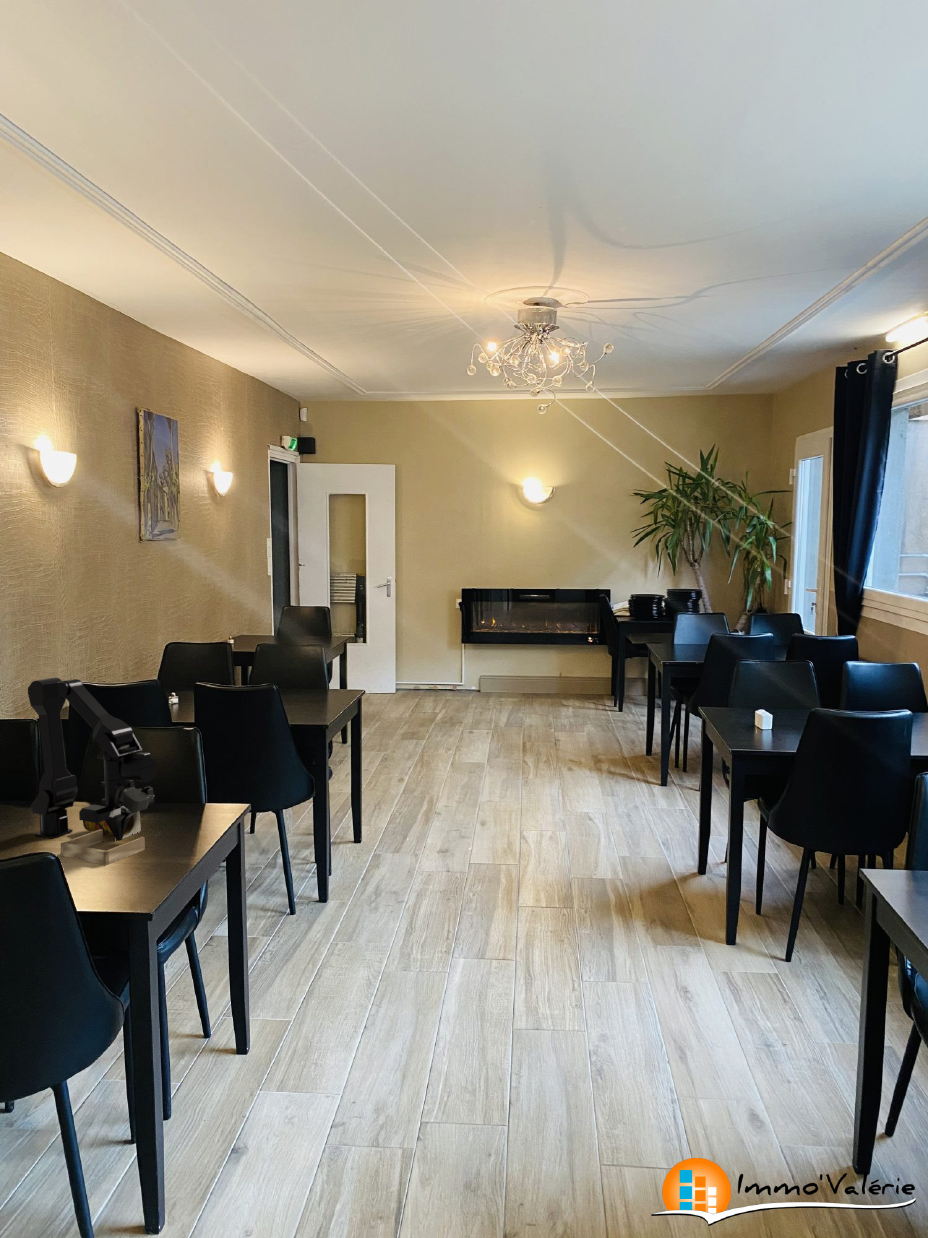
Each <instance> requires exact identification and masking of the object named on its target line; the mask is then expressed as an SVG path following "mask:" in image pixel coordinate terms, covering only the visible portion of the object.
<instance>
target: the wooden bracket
mask: <svg viewBox="0 0 928 1238" xmlns="http://www.w3.org/2000/svg"><path fill="white" fill-rule="evenodd" d="M102 841H103V842H104V834H103V830H102V829H100V830H97V831H94V832H93V831H90V832H88V833H85V834H84V835H80V836H78V837H77V836H76V837H74V838H71V839H69V840H66V841H64V842H61V843H60V856H61V857H66V858H70V859H75V860H79V861H85V862H88V863H89V862H90V863H94V864H100V865H104V866H108V865H111V864H113V863H115V862H118V861H120V860H122V859H125V858H127V857H130V856H132V855H135V854H137V853H140V852H143V851H144V850H146V841H145V836H141V837H138V838H136V839H133V840H130V841H128V842H125V843H123V844H120V845H118V846H115V847H112V848H110V849H108V850H104V849H99V848H93V846H95V845H98V844H100V843H103V842H102Z"/></svg>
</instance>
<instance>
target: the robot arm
mask: <svg viewBox="0 0 928 1238" xmlns="http://www.w3.org/2000/svg"><path fill="white" fill-rule="evenodd" d="M27 695H28V699H29V703H30V707H31V708H32V710H34V712H35V713H36V714H37V715H38V721H39V722H38V723H39V730H40V732H39V733H40V740H41V749H42V750H41V751H42V759H43V767H44V768H43V770H44V773H43V775H42V777H41V779H40V782H39V784H38V786H39V787H38V795H37V796H36V798H35V799H34V800H33V802H32V803H31V804H30V808H31V811H32V814H36V815H39V831H37V832H35V833H34V836H37V837H42V838H46V839H47V838H48V839H55V838H58V837H60V836H64V835H67V834H70V833H73V830H74V829H73V828H69V818H68V817H69V816H68V810H67V809H70V808H73V807H74V804H75V800H76V798H77V795H78V793H77V792H78V790H79V788H78V784H77V779H78V778H77V776H76V775H75V774H71V772H69V770H68V769H67V763H66V755H65V745H64V737H63V726H62V725H63V723H62V718H61V713H62V710H63V708H64V705H65V704H66V701H67V702H68V703H69V704H70V705H71V706H72V708H74V709H75V711H76V712H77V713H78V714H79V715H80V717H82V718H83V719H84V721H86V723H87V724H88V725H89V726H90V727H91V729H92V731H93V739H94V741H96V742H97V744H98V746H99V747H100V749H101V752H100V753H98V755H97V759H101V760H103V768H104V769H103V771H104V781H101V782H100V787H102V788H104V797H105V798H102V799H101V804H105V805H99V804H91V805H88V806H85V807H82V808H81V809H80V810H79V812H78V815H79V816H78V817H79V818H78V819H79V821H82V822H83V821H88V822H93V823H99V822H102V821H105V822H106V823H107V825H108V826H109V828H110V830H111V832H112V833H113V835H112V836H113V837H114V840H115V839H116V840H117V841H116V842H120V841H122V840H123V839H124V838H123V836H124V832H125V829H126V826H127V823H128V821H129V819H130V817H131V816H132V815H133V814H134V813H137V812H138V811H139V812H140V811H143V810H147V809H148V806H151V805H153V804H155V802H156V799H155V798H156V797H155V794H154V793H155V792H154V787H152V786H150V785H149V786H145V787H143V788H136V785H135V782H143V783H149V782H151V781H153V780H154V779H155V777H156V776H157V773H158V765H157V763H156V761H155V759H154V758H152V757H151V753H150V752H143V751H144V750H143V748H142V747H141V743H140V742H139V741H138V739H137V738H136V735H135V734H134V731H133V729H132V727H131V726H130V725H128V724H127V723H126V722H125V721H123V720H122V719H119V718H117V717H115V716H113V715H111V714H109V713H108V712H107V710H106V709H105V708H104V707H103V706H102V705H101V704H100V702H99V701H98V700H96V698H95V697H94V696H93V695H92V694H91V693H90V692H89V690H87V689H86V687H85V686H84V682H83V681H82V680H80V679H77V678H74V679H69V680H62V679H61V678H59V677H57V676H56V677H50V678H44V679H38V680H33V681H32V682H31V683H29V685H28V688H27Z"/></svg>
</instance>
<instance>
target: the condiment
mask: <svg viewBox="0 0 928 1238" xmlns="http://www.w3.org/2000/svg"><path fill="white" fill-rule="evenodd" d="M140 814H141V812H140V811H138V812H137V813H134V814H133V815H132V816H131V817H130V819H129V821H128V823H127V826H126V829H125V832H124V836H123V839H126V838H128V837H131V836H133V835H136V834H138V833H141V832H142V830H141V829H142V828H141V827H142V826H141V815H140ZM82 823H83V824H82V825H83V827H84V830H86V831H88V832H94V831H97V830H100V829H102V830H103V835H111V836H114V835H113V833H112V832H111V830H110V828H109V826H108V825H107V823H106V822H105V821H102V822H99V823H93V822H88V821H82ZM140 831H141V832H140ZM137 832H138V833H137ZM132 834H133V835H132ZM114 841H115V842H117V841H116V839H115V838H114Z"/></svg>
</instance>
